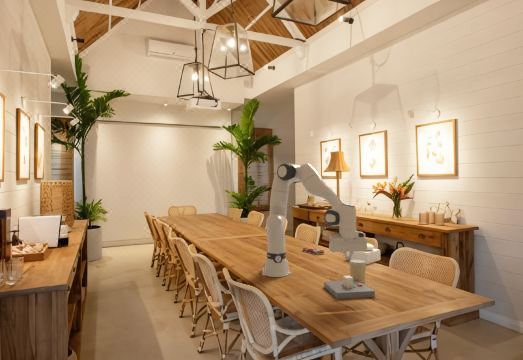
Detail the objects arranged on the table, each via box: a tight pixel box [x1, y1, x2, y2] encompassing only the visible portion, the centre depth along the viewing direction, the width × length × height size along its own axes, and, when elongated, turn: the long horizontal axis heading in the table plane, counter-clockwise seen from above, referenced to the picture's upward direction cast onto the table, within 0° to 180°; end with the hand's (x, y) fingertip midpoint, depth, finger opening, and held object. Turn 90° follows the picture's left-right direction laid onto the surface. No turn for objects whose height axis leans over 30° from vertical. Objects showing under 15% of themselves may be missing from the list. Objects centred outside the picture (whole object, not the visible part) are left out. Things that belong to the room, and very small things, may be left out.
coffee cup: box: [348, 259, 367, 284], centre depth 204 cm, size 9×9×12 cm
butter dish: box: [346, 242, 381, 265], centre depth 255 cm, size 18×18×16 cm
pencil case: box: [302, 247, 325, 256], centre depth 280 cm, size 11×20×5 cm, turn 27°
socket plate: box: [323, 280, 376, 300], centre depth 185 cm, size 20×20×4 cm
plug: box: [342, 275, 353, 288], centre depth 186 cm, size 7×4×8 cm, turn 9°
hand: (348, 259), depth 185 cm, fingers closed
